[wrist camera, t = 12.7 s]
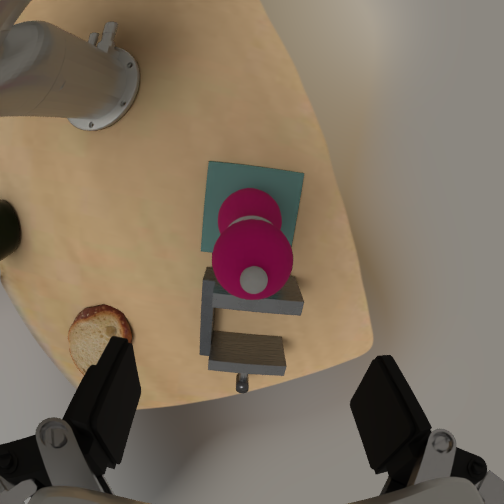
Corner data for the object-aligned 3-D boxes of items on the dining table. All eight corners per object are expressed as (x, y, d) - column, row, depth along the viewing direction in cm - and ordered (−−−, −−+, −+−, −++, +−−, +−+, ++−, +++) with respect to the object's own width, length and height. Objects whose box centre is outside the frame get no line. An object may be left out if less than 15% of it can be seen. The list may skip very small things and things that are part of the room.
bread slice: (88, 376, 48) (81, 387, 45) (50, 307, 42) (40, 318, 38) (158, 378, 48) (153, 392, 44) (122, 301, 41) (113, 313, 38)
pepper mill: (271, 242, 37) (297, 338, 18) (217, 234, 36) (191, 326, 18) (282, 188, 35) (325, 239, 16) (224, 179, 34) (200, 220, 15)
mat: (209, 161, 34) (208, 161, 33) (303, 173, 34) (304, 173, 34) (201, 249, 38) (200, 251, 37) (288, 259, 39) (288, 261, 38)
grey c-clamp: (206, 266, 39) (199, 291, 32) (295, 276, 40) (304, 302, 33) (201, 366, 46) (197, 395, 39) (272, 372, 47) (275, 401, 40)
